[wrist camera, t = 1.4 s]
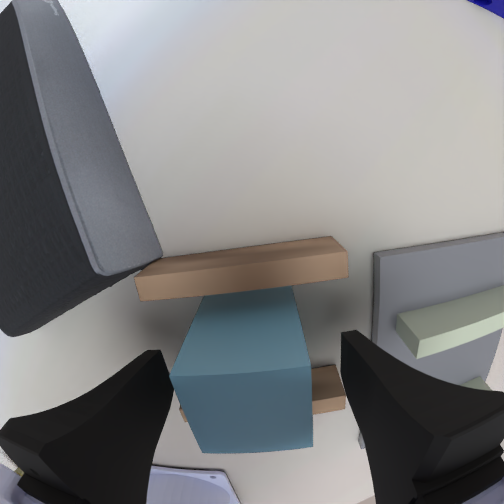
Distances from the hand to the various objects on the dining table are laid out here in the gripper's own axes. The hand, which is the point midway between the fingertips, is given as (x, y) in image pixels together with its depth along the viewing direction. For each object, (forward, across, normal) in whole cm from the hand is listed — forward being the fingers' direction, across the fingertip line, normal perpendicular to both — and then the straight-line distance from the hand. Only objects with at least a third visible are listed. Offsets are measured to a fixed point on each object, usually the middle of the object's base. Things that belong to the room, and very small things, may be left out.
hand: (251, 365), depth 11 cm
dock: (+3, -11, +4) cm, 12 cm away
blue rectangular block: (+3, 0, 0) cm, 3 cm away
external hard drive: (+4, +12, -11) cm, 17 cm away
